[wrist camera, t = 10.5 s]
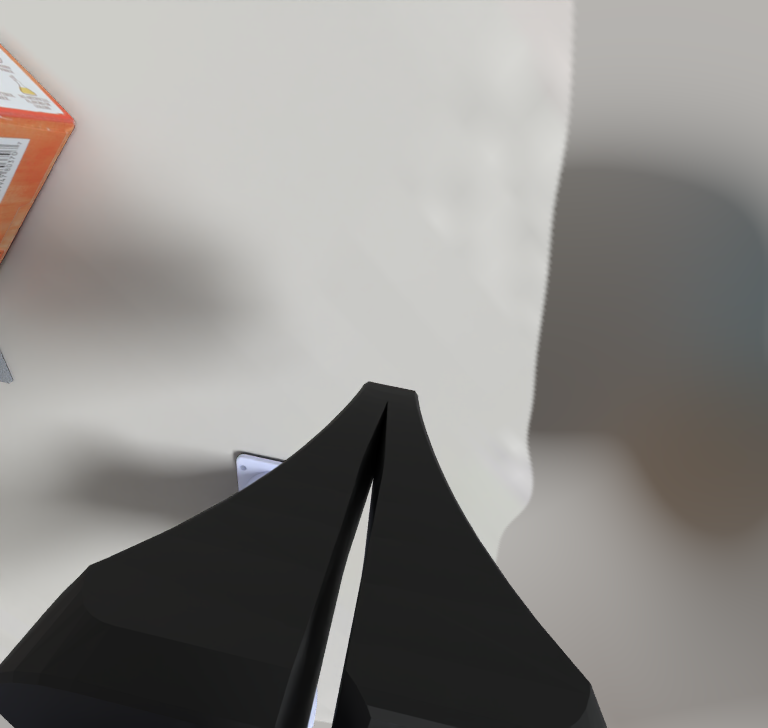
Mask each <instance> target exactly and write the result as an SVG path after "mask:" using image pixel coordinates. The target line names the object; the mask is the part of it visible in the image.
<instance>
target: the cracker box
mask: <svg viewBox="0 0 768 728" xmlns="http://www.w3.org/2000/svg"><path fill="white" fill-rule="evenodd" d="M74 126H75V121H74V119H73V118H72V117H71V116H70V115H69V114H68V113H67V112H66V111H65V110H64V109H63V108H62V107H61V106H60V105H59V103H58V102H57V101H56V100H55V99H54V98H53V97H52V96H51V95H50V94H49V93H48V92H47V91H46V90H45V89H44V88H43V87H42V86H41V85H40V84H39V83H38V82H37V81H36V80H35V79H34V78H33V77H32V76H31V75H30V74H29V73H28V72H27V71H26V70H25V69H24V68H23V67H22V66H21V65H20V64H19V63H18V62H17V61H16V60H15V59H14V58H13V57H12V55H11V54H10V53H9V52H8V51H7V50H6V49H5V48H4V47H3V46H2V45H1V44H0V263H1V261H2V260H3V258H4V256H5V254H6V252H7V250H8V249H9V247H10V245H11V243H12V241H13V239H14V237H15V235H16V234H17V232H18V229H19V228H20V226H21V224H22V223H23V221H24V219H25V217H26V215H27V213H28V211H29V209H30V208H31V206H32V204H33V202H34V200H35V198H36V197H37V195H38V193H39V191H40V189H41V188H42V186H43V184H44V182H45V180H46V178H47V176H48V174H49V172H50V171H51V169H52V167H53V165H54V163H55V161H56V159H57V157H58V156H59V154H60V152H61V150H62V148H63V146H64V145H65V143H66V141H67V139H68V137H69V136H70V134H71V132H72V130H73V129H74Z"/></svg>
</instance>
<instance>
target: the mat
mask: <svg viewBox="0 0 768 728" xmlns="http://www.w3.org/2000/svg"><path fill="white" fill-rule="evenodd" d="M0 381H1V382H6V383H10V382H12V381H13V379H12V377H11V374H10V372H9V370H8V368H7V365H6V363H5V361H4V359H3V356H2V354H1V352H0Z"/></svg>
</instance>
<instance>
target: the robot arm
mask: <svg viewBox="0 0 768 728" xmlns="http://www.w3.org/2000/svg"><path fill="white" fill-rule="evenodd" d="M236 464H237V477H238V489H239V492H237V493H236V494H234V495H233V496H231V497H229V498H227V499H226V500H224V501H222V502H220V503H218V504H217V505H215V506H213V507H211V508H209V509H207V510H205V511H204V512H202V513H200V514H198V515H196V516H194V517H193V518H191V519H189V520H187V521H185V522H183V523H181V524H180V525H178V526H176V527H174V528H171V529H169V530H167V531H165V532H163V533H161V534H159V535H157V536H155V537H152V538H150V539H148V540H146V541H144V542H141V543H139V544H137V545H135V546H133V547H130V548H128V549H126V550H124V551H122V552H119V553H117V554H115V555H113V556H111V557H109V558H106V559H104V560H101V561H99V562H97V563H94V564H92V565H90V566H89V567H88V568H87V569H86V570H85V571H84V572H83V573H82V574H81V575H80V576H79V577H78V578H77V579H76V580H75V581H74V582H73V583H72V584H71V585H70V586H69V587H68V588H67V589H66V590H65V591H64V592H63V593H62V594H61V595H60V596H59V597H58V598H57V599H56V600H55V602H54V603H53V604H52V605H51V606H50V607H49V608H48V609H47V611H46V612H45V613H44V614H43V615H42V616H41V618H40V619H39V620H38V621H37V622H36V623H35V625H34V626H33V627H32V628H31V629H30V630H29V631H28V633H27V634H26V635H25V636H24V637H23V638H22V640H21V641H20V642H19V643H18V644H17V645H16V647H15V648H14V649H13V650H12V651H11V652H10V654H9V655H8V656H7V657H6V658H5V659H4V661H3V662H2V663H1V664H0V714H1V715H2V716H3V717H4V718H5V719H6V720H7V721H8V722H9V723H10V724H11V725H12V726H13V727H14V728H313V724H314V719H315V713H316V706H317V684H318V679H319V675H320V670H321V666H322V662H323V657H324V653H325V649H326V644H327V640H328V636H329V631H330V627H331V623H332V618H333V614H334V610H335V606H336V601H337V597H338V593H339V589H340V584H341V580H342V576H343V572H344V568H345V565H346V561H347V558H348V554H349V551H350V548H351V545H352V542H353V539H354V536H355V533H356V530H357V527H358V524H359V521H360V518H361V515H362V512H363V508H364V505H365V502H366V499H367V496H368V493H369V490H370V487H371V484H372V481H373V486H372V495H371V503H370V512H369V521H368V530H367V539H366V547H365V556H364V564H363V570H362V577H361V582H360V587H359V592H358V597H357V602H356V608H355V613H354V618H353V623H352V628H351V633H350V638H349V643H348V648H347V653H346V658H345V663H344V668H343V673H342V678H341V683H340V688H339V693H338V698H337V703H336V708H335V713H334V718H333V723H332V728H607V726H606V723H605V721H604V718H603V715H602V713H601V711H600V707H599V705H598V702H597V699H596V697H595V694H594V692H593V689H592V686H591V684H590V682H589V681H588V680H587V679H586V678H585V677H584V675H583V674H582V673H581V672H580V671H579V669H577V667H576V666H575V665H574V664H573V662H572V661H571V660H570V659H569V658H568V657H567V655H566V654H565V653H564V652H563V651H562V649H561V648H560V647H559V646H558V645H557V644H556V642H555V641H554V640H553V639H552V638H551V637H550V635H549V634H548V633H547V632H546V631H545V629H544V628H543V627H542V626H541V625H540V623H539V622H538V621H537V620H536V619H535V617H534V616H533V615H532V613H531V612H530V611H529V609H528V608H527V606H526V605H525V604H524V603H523V601H522V600H521V599H520V597H519V596H518V595H517V593H516V592H515V591H514V589H513V588H512V587H511V585H510V584H509V583H508V581H507V580H506V578H505V577H504V575H503V574H502V573H501V571H500V570H499V568H498V566H497V565H496V563H495V562H494V561H493V559H492V558H491V556H490V555H489V553H488V552H487V550H486V549H485V547H484V546H483V544H482V543H481V542H480V540H479V538H478V537H477V535H476V533H475V532H474V530H473V528H472V527H471V525H470V523H469V522H468V520H467V518H466V517H465V515H464V513H463V511H462V510H461V508H460V506H459V504H458V502H457V501H456V499H455V497H454V495H453V493H452V491H451V489H450V487H449V485H448V483H447V481H446V479H445V477H444V474H443V472H442V470H441V468H440V465H439V463H438V461H437V458H436V456H435V454H434V451H433V448H432V446H431V443H430V440H429V437H428V435H427V432H426V429H425V426H424V422H423V419H422V415H421V411H420V407H419V401H418V395H417V393H416V392H415V391H413V390H408V389H403V388H398V387H393V386H388V385H383V384H379V383H374V382H367V383H366V384H364V385H363V387H362V388H361V390H360V391H359V392H358V393H357V395H356V396H355V397H354V398H353V399H352V401H351V402H350V403H349V404H348V405H347V406H346V407H345V408H344V409H343V410H342V411H341V412H340V413H339V414H338V415H337V416H336V417H335V418H334V419H333V420H332V421H331V422H330V423H329V424H328V425H327V426H326V427H325V428H324V429H323V430H322V431H321V432H319V433H318V434H317V435H316V436H315V437H314V438H313V439H311V440H310V441H309V442H308V443H307V444H306V445H305V446H303V447H302V448H301V449H300V450H298V451H297V452H296V453H295V454H293V455H292V456H291V457H289V458H288V459H287V460H285V461H284V462H279V461H274V460H269V459H265V458H260V457H256V456H251V455H246V454H240V455H239V456H238V458H237V459H236Z"/></svg>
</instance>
